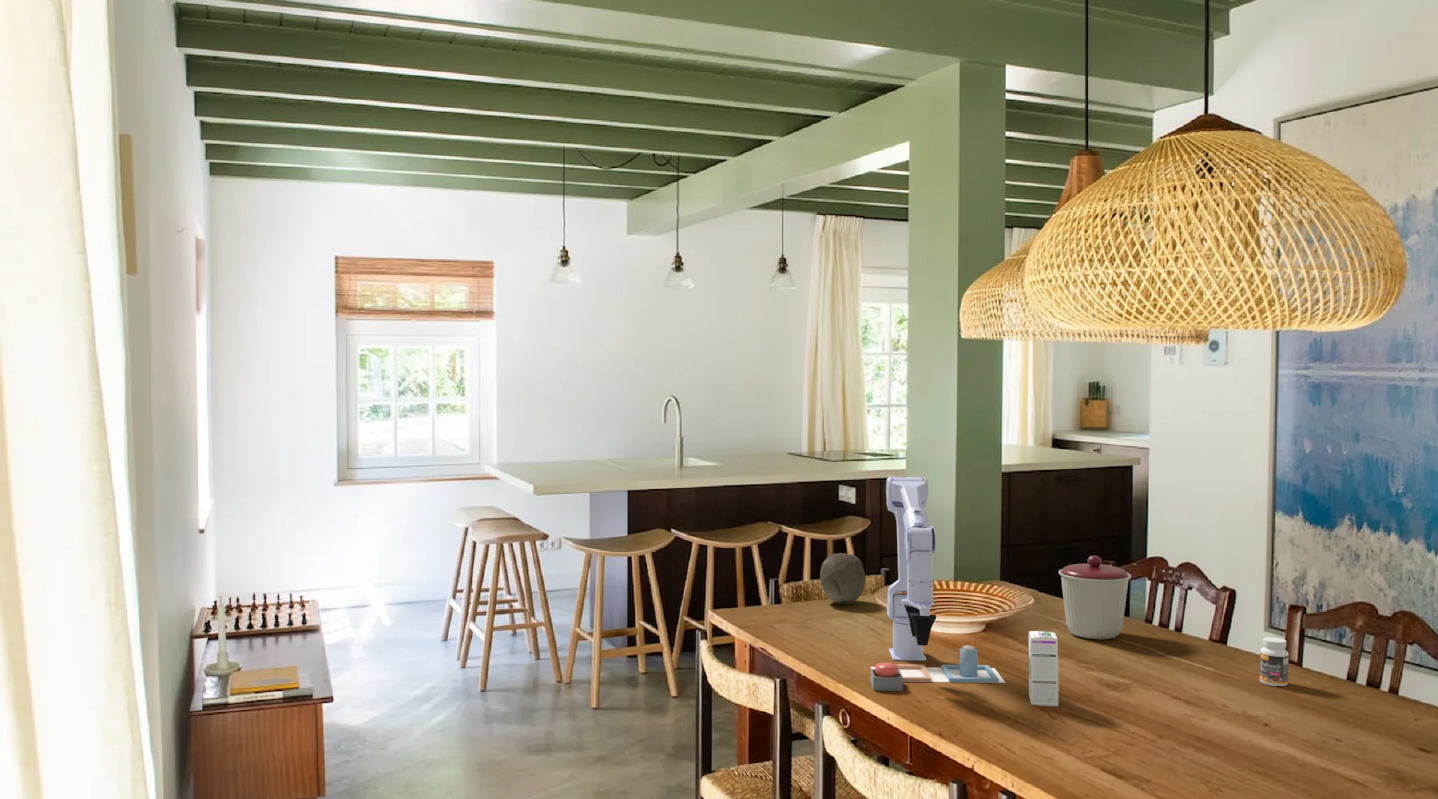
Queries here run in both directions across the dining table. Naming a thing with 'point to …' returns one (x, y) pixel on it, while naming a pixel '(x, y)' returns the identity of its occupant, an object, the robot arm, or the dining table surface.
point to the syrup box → (1043, 668)
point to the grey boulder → (842, 578)
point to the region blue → (969, 679)
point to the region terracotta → (915, 679)
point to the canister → (1094, 598)
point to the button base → (886, 682)
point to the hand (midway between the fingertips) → (919, 640)
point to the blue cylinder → (968, 661)
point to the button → (886, 670)
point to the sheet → (939, 675)
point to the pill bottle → (1274, 662)
